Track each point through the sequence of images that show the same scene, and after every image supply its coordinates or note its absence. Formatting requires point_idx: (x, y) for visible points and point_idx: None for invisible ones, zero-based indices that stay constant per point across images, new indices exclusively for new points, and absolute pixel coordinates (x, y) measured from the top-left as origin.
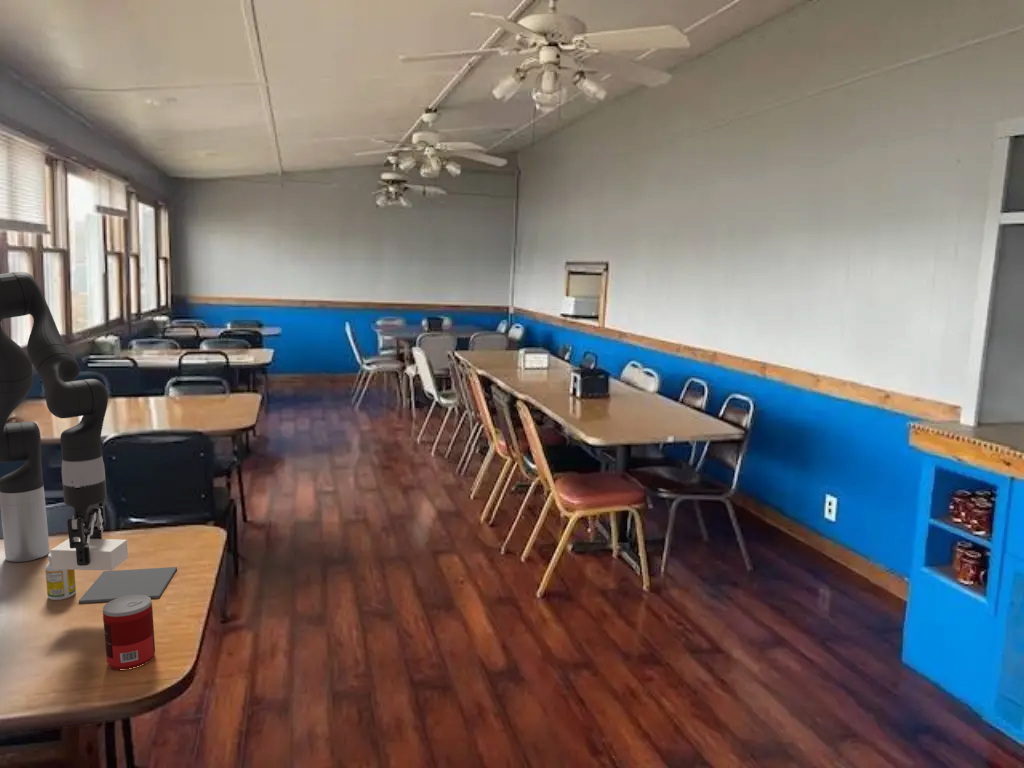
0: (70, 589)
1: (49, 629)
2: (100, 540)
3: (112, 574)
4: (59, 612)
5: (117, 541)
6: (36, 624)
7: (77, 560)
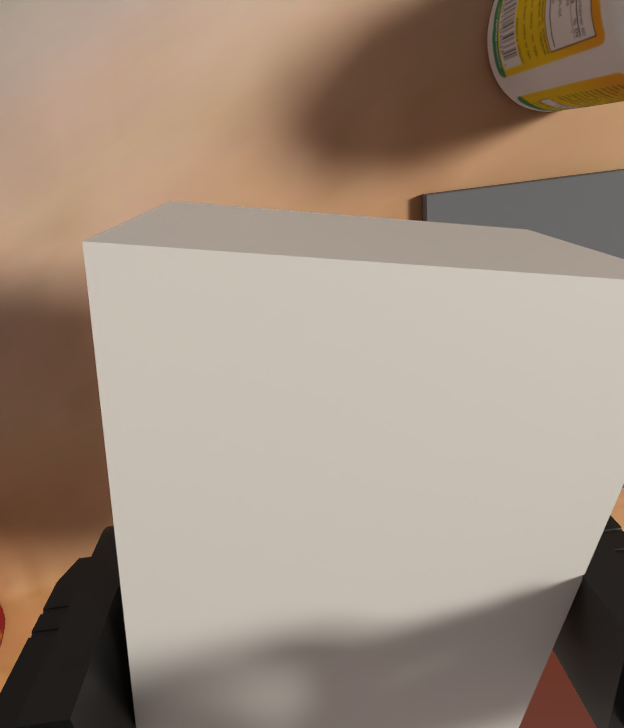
0: (540, 100)
1: (122, 192)
2: (484, 697)
3: None
4: (321, 140)
5: None
6: (173, 81)
7: (93, 565)
